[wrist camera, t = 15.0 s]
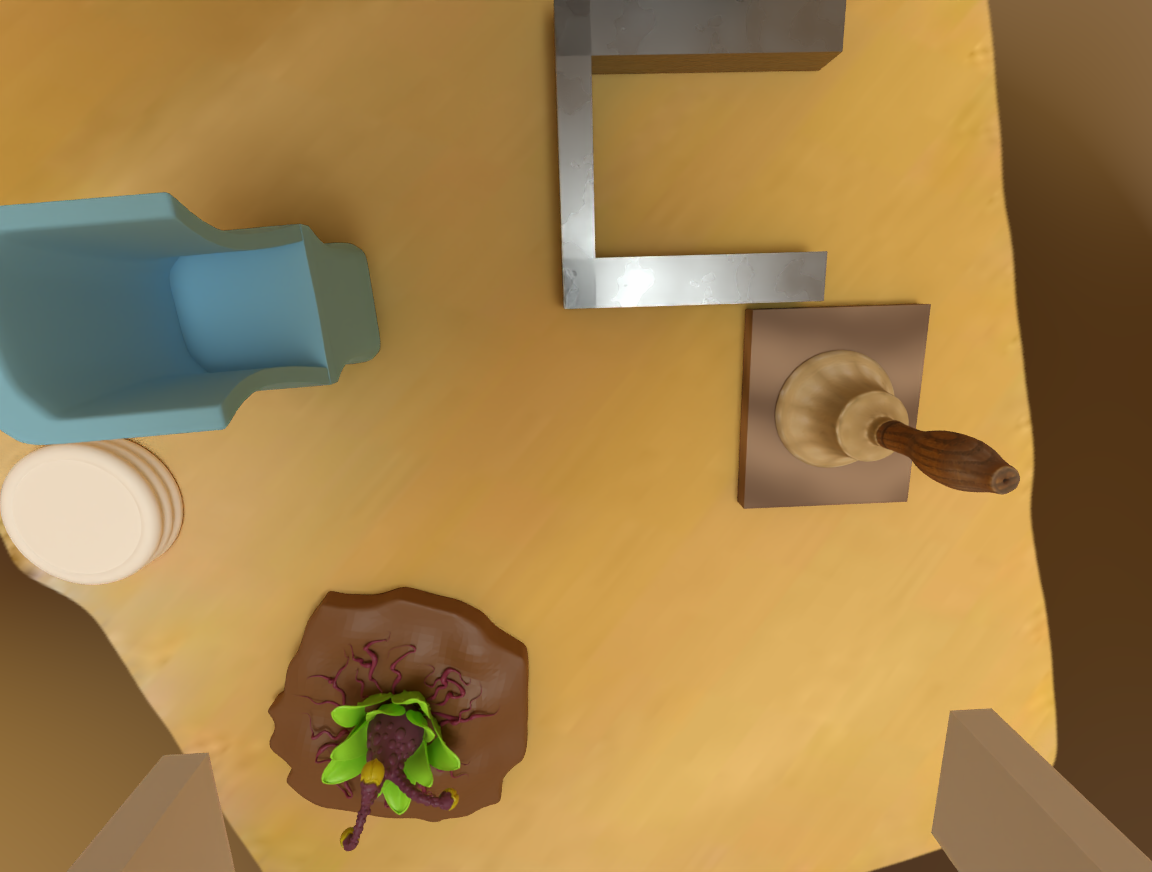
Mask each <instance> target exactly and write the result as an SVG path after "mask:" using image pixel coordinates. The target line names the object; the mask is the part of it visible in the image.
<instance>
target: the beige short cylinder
mask: <svg viewBox="0 0 1152 872" xmlns="http://www.w3.org/2000/svg"><path fill="white" fill-rule="evenodd" d="M0 510H1V516H2V520H3V523H4V526H5V528H6V531H7V533H8V535H9V536H10V538H11V540H12V542H13V543H14V544H15V546H16V547H17V548H18V550H19V551H20V552H21V553H22V554H23V555H24V556H25V557H26V558H27V559H28V560H29V561H30V562H32V563H33V564H34V565H35V566H37V567H38V568H40V569H41V570H43V571H45V572H46V573H48V574H50V575H52V576H54V577H57V578H59V579H62V580H65V581H68V582H72V583H78V584H86V585H100V584H106V583H111V582H115V581H118V580H122V579H124V578H127V577H129V576H131V575H133V574H135V573H136V572H138V571H139V570H140V569H142V568H143V567H145V566H146V565H148V564H149V563H151V562H152V561H153V560H155V559H157V558H158V557H160V556H161V555H162V554H164V553H165V552H166V551H167V550H168V549H169V548H170V546H171V545H172V544H173V542H174V541H175V539H176V537H177V535H178V533H179V531H180V528H181V525H182V520H183V503H182V497H181V494H180V491H179V488H178V486H177V484H176V482H175V480H174V478H173V476H172V475H171V473H170V472H169V470H168V469H167V468H166V467H165V465H164V464H163V463H162V462H161V461H160V460H159V459H158V458H157V457H156V456H154V455H153V454H152V453H150V452H149V451H148V450H146V449H145V448H143V447H141V446H140V445H138V444H136V443H134V442H131V441H129V440H126V439H112V440H101V441H90V442H79V443H67V444H52V445H48V446H44V447H41V448H39V449H37V450H34V451H32V452H31V453H29V454H27V455H26V456H24V457H23V458H22V459H21V460H20V461H18V462H17V463H16V464H15V465H14V466H13V467H12V469H11V470H10V471H9V473H8V474H7V476H6V478H5V480H4V483H3V485H2V489H1V494H0Z"/></svg>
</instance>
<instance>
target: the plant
mask: <svg viewBox="0 0 1152 872" xmlns="http://www.w3.org/2000/svg"><path fill="white" fill-rule="evenodd" d="M268 713H269V714H270V716H271V717H272V719H273V721H274V723H275V730H274V733H273V735H272V736H271V739H270V748H271V749H272V750H273V751H274V752H275V753H276V754H277V755H278V756H280V757H281V758H282V759H284V760H285V761H286V762H287V763H288V764H289V765H290V766H291V768H292V769H291V771H290V773H289V775H288V778H287V783H288V784H289V785H290V786H291V787H292V788H293V789H294V790H295V791H296V792H297V793H298V794H300V795H301V796H302V797H304V798H305V799H307V800H308V801H310V802H312V803H314V804H316V805H318V806H321V807H325V808H331V809H338V810H345V811H352V812H358V815H357V820H356V825H355V826H354V827H350V828H347V829H346V830H345V831H344V832H343V833H342V835H341V838H340V844H341V846H342V847H343V848H344V850H346V851H351V850H353V849H355V848H356V846H357V845H358V843H359V839H360V834H361V833H362V831H363V825H364V823H365V822H366V817H367V815H372V816H378V817H385V818H417V819H422V820H426V821H430V822H438V821H441V820H443V819H448V818H458V817H463V816H468V815H470V814H472V813H474V812H475V811H477V810H479V809H481V808H483V807H486V806H489V805H492V804H496V803H498V802H499V801H500V799H501V792H502V782H503V778H504V777H505V775H506V774H507V773H508V772H509V771H510V770H511V769H512V768H513V767H514V766H515V765H516V764H518V763H519V762H521V761H522V759H523V758H524V755H525V752H526V747H527V734H528V733H527V720H528V653H527V648H526V646H525V645H524V644H523V643H522V642H520V641H519V640H517V639H515V638H514V637H512V636H511V635H509V634H507V633H506V632H504V631H502V630H501V629H499V628H498V627H497V626H495V625H494V624H493V623H492V622H491V621H490V620H489V618H488V617H487V616H486V615H485V614H484V613H482V612H481V611H480V610H478V609H476V608H474V607H472V606H470V605H468V604H466V603H464V602H462V601H459V600H456V599H452V598H448V597H444V596H439V595H436V594H432V593H428V592H425V591H421V590H417V589H413V588H408V587H402V588H398V589H395V590H392V591H389V592H386V593H382V594H376V595H360V594H344V593H339V592H333V591H330V592H329V593H328V594H327V595H326V597H325V598H324V600H323V601H322V602H321V604H320V605H319V606H318V607H317V609H316V610H315V612H314V613H313V614H312V616H311V617H310V619H309V621H308V623H307V625H306V628H305V631H304V635H303V639H302V642H301V645H300V648H299V650H298V652H297V653H296V655H295V656H294V658H293V659H292V661H291V662H290V664H289V666H288V670H287V674H286V681H285V690H284V691H283V692H282V693H281V694H279V695H278V696H277V698H276V699H275V701H274V702H273V704H272V705H271V706H270V708H269V710H268Z"/></svg>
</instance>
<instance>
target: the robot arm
mask: <svg viewBox="0 0 1152 872" xmlns="http://www.w3.org/2000/svg"><path fill="white" fill-rule="evenodd" d="M931 833H932V834H933V836H934V837H935V839H936V840H937V842H938V843H939V844H940V846H941V847H942V849H943V850H944V851H945V853H946V854H947V856H948V857H949V859H950V860H951V862H952V863H953V864H954V866H955V867H956V869H957V870H958V872H1152V861H1151V860H1150V859H1149V858H1148V857H1147V856H1146V855H1145V854H1143V853H1142V852H1141V851H1140V850H1139V849H1138V848H1137V847H1136V846H1135V845H1134V844H1133V843H1132V842H1131V841H1130V840H1129V839H1128V838H1127V837H1126V836H1125V835H1124V834H1122V833H1121V832H1120V831H1119V830H1118V829H1117V828H1116V827H1115V826H1114V825H1113V824H1112V823H1111V822H1110V821H1109V820H1108V819H1107V818H1106V817H1105V816H1104V815H1103V814H1101V813H1100V812H1099V811H1098V810H1097V809H1096V808H1095V807H1094V806H1093V805H1092V804H1091V803H1090V802H1089V801H1088V800H1087V799H1086V798H1085V797H1084V796H1083V795H1082V794H1081V793H1080V792H1078V791H1077V790H1076V789H1075V788H1074V787H1073V786H1072V785H1071V784H1070V783H1069V782H1068V781H1067V780H1066V779H1065V778H1064V777H1063V776H1062V775H1061V774H1060V773H1058V772H1057V771H1056V770H1055V769H1054V768H1053V767H1052V766H1051V765H1050V764H1049V763H1048V762H1047V761H1046V760H1045V759H1044V758H1043V757H1042V756H1041V755H1040V754H1039V753H1038V752H1037V751H1035V750H1034V749H1033V748H1032V747H1031V746H1030V745H1029V744H1028V743H1027V742H1026V741H1025V740H1024V739H1023V738H1022V737H1021V736H1020V735H1019V734H1018V733H1017V732H1016V731H1015V730H1013V729H1012V728H1011V727H1010V726H1009V725H1008V724H1007V723H1006V722H1005V721H1004V720H1003V719H1002V718H1001V717H1000V716H999V715H998V714H997V713H996V712H995V711H994V710H992V709H973V710H956V711H950V715H949V721H948V728H947V734H946V741H945V747H944V754H943V760H942V767H941V773H940V780H939V787H938V793H937V800H936V806H935V813H934V819H933V826H932V832H931ZM67 872H235V869H234V865H233V860H232V856H231V851H230V847H229V842H228V838H227V834H226V829H225V824H224V820H223V815H222V811H221V806H220V802H219V798H218V793H217V789H216V784H215V780H214V775H213V771H212V766H211V762H210V757H209V753H195V754H178V755H163V756H162V757H161V759H160V760H159V761H158V762H157V763H156V765H155V766H154V767H153V768H152V770H151V771H150V772H149V773H148V774H147V776H146V777H145V778H144V779H143V780H142V781H141V783H140V784H139V785H138V786H137V788H136V789H135V790H134V791H133V793H132V794H131V795H130V796H129V797H128V798H127V800H126V801H125V802H124V803H123V805H122V806H121V807H120V808H119V809H118V810H117V812H116V813H115V814H114V815H113V816H112V818H111V819H110V820H109V821H108V823H107V824H106V825H105V826H104V827H103V829H102V830H101V831H100V832H99V833H98V835H97V836H96V837H95V839H93V841H92V842H91V843H90V844H89V845H88V847H87V848H86V849H85V850H84V851H83V853H82V854H81V855H80V856H79V858H78V859H77V860H76V861H75V862H74V864H73V865H72V866H71V867H70V868H69V870H68V871H67Z"/></svg>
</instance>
